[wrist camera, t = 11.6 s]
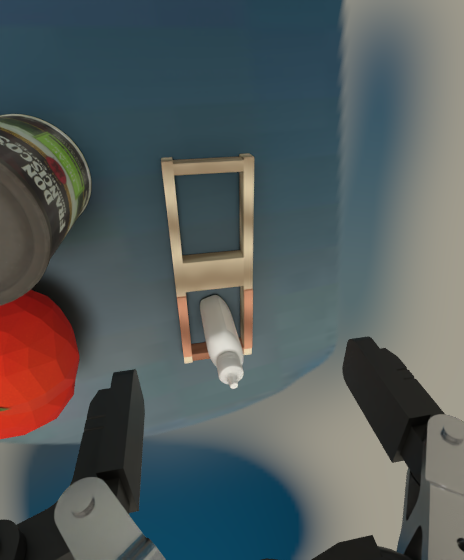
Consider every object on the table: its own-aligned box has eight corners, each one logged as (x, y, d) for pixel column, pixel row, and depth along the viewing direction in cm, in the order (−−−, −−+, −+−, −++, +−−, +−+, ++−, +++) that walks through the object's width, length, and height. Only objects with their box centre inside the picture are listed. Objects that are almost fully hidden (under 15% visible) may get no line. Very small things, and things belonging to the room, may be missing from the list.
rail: (161, 157, 32) (161, 162, 30) (249, 153, 33) (254, 157, 31) (183, 352, 44) (184, 365, 42) (247, 344, 45) (252, 355, 43)
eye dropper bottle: (236, 293, 41) (262, 362, 31) (229, 331, 43) (251, 406, 33) (200, 292, 40) (215, 363, 30) (195, 330, 42) (207, 408, 32)
